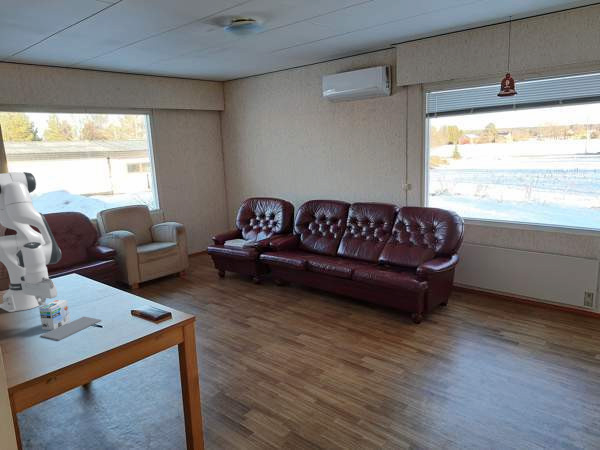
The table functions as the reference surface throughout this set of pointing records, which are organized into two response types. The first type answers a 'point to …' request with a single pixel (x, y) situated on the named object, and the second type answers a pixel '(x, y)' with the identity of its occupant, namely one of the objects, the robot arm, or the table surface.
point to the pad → (70, 328)
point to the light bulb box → (54, 314)
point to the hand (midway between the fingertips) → (41, 304)
